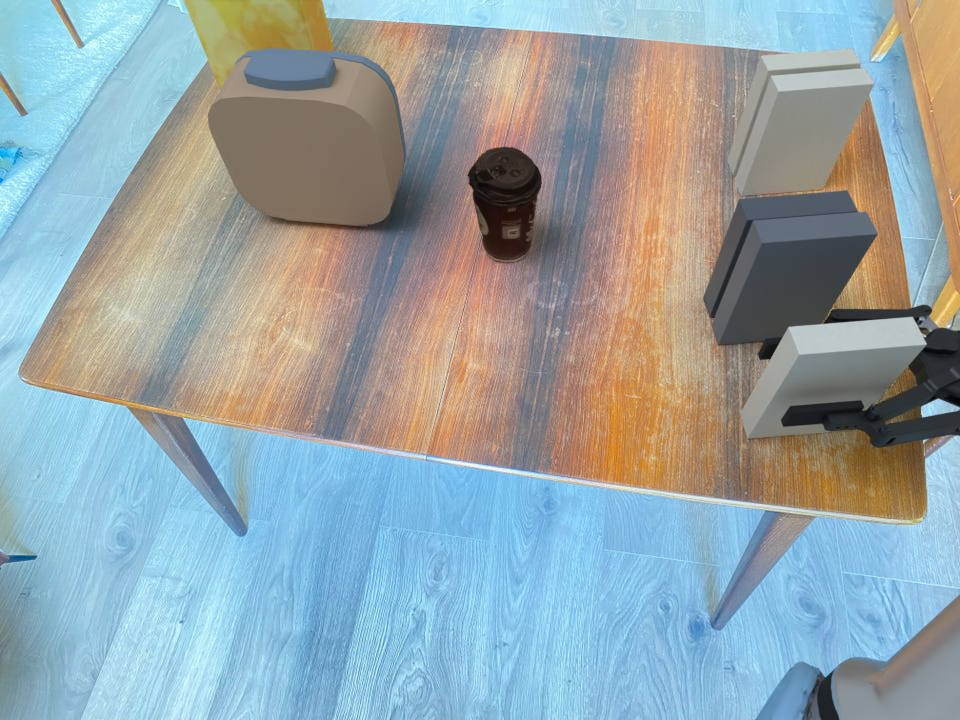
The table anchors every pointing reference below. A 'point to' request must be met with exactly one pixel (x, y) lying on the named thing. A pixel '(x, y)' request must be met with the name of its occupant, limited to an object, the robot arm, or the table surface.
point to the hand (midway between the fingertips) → (774, 381)
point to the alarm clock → (311, 135)
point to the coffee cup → (505, 201)
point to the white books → (797, 120)
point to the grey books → (785, 263)
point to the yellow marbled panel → (256, 28)
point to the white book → (829, 370)
